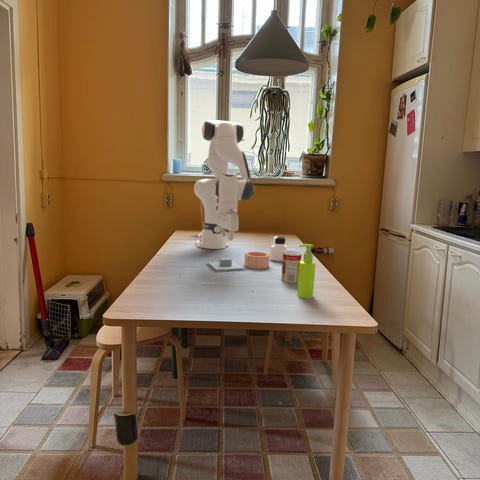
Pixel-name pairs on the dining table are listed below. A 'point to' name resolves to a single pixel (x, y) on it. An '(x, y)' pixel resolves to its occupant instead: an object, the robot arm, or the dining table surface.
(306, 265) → the soap dispenser
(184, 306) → the dining table surface
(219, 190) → the robot arm
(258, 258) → the bowl
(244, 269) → the mat
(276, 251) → the medicine bottle
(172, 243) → the dining table surface
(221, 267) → the lid
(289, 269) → the canned food
